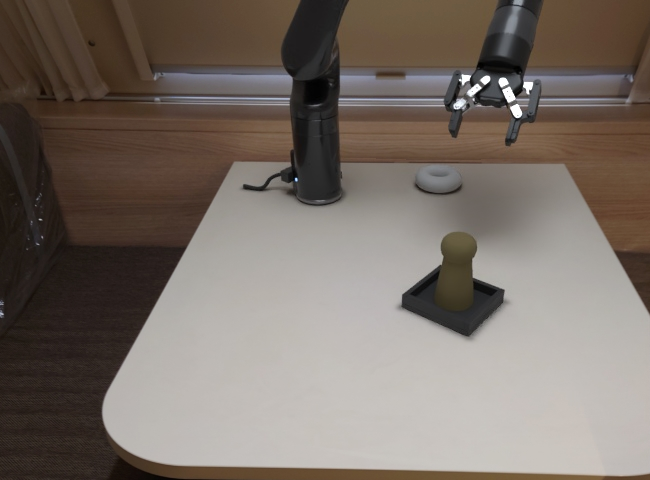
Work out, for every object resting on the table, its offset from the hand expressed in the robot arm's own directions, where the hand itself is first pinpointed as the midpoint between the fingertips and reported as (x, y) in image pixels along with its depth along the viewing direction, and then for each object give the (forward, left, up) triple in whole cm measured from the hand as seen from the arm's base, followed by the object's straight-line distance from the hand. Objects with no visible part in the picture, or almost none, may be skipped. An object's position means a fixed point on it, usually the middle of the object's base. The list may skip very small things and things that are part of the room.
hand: (480, 139), depth 89 cm
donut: (-19, +21, -21) cm, 35 cm away
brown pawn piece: (+6, -14, -20) cm, 25 cm away
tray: (+6, -14, -20) cm, 26 cm away
